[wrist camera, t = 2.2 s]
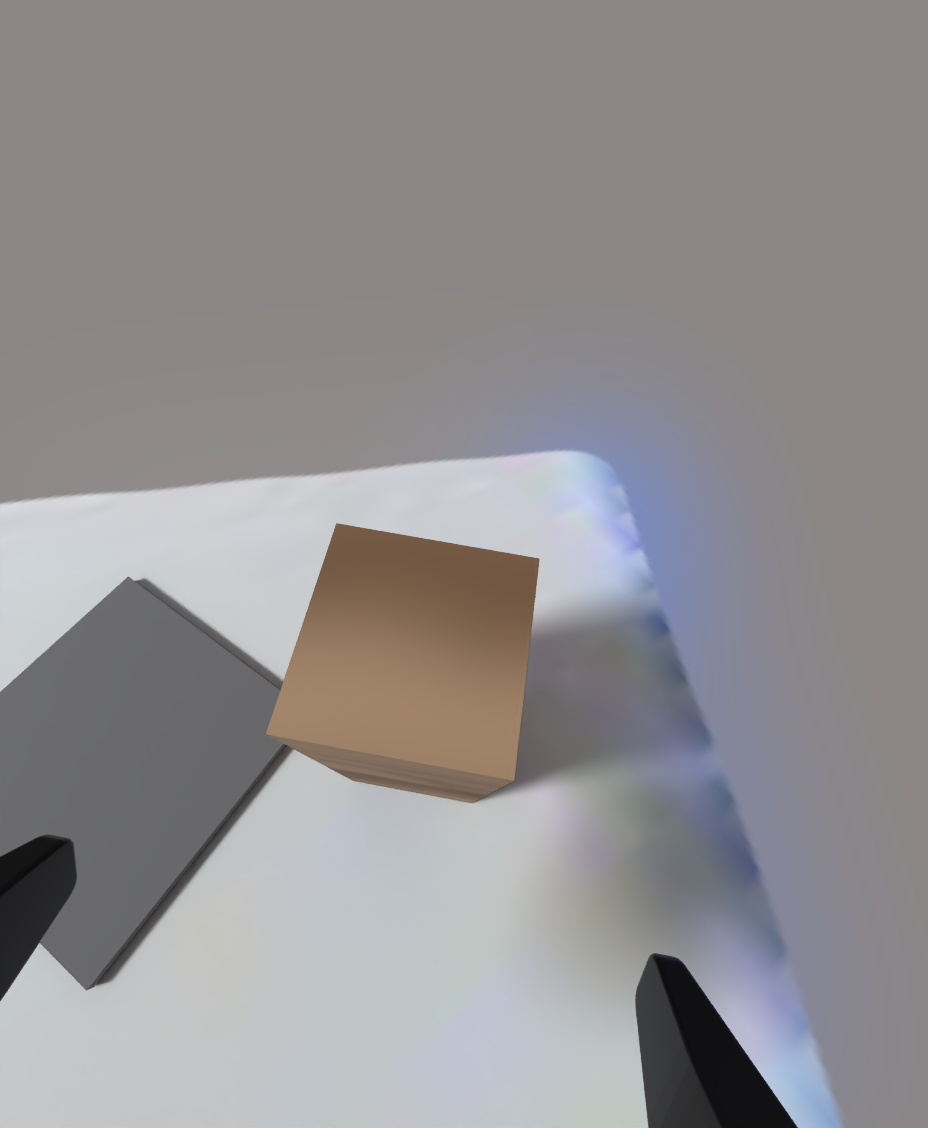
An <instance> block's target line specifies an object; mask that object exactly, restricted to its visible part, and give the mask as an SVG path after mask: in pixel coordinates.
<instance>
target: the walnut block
mask: <svg viewBox="0 0 928 1128" xmlns="http://www.w3.org/2000/svg"><path fill="white" fill-rule="evenodd" d="M538 567H539V559H538V558H533V557H527V556H521V555H515V554H510V553H504V552H498V551H492V550H487V549H481V548H475V547H469V546H464V545H458V544H452V543H446V542H441V541H435V540H429V539H423V538H418V537H412V536H406V535H400V534H395V533H389V532H383V531H377V530H372V529H366V528H360V527H354V526H349V525H343V524H337V523H336V526H335V529H334V532H333V535H332V538H331V541H330V544H329V547H328V550H327V553H326V556H325V559H324V562H323V565H322V568H321V571H320V574H319V577H318V580H317V583H316V586H315V589H314V592H313V595H312V598H311V601H310V604H309V607H308V610H307V613H306V616H305V619H304V622H303V625H302V628H301V631H300V634H299V637H298V640H297V643H296V646H295V649H294V651H293V654H292V657H291V660H290V663H289V666H288V669H287V672H286V675H285V678H284V681H283V684H282V687H281V690H280V693H279V696H278V699H277V702H276V705H275V708H274V711H273V714H272V717H271V720H270V723H269V726H268V729H267V732H266V735H268V736H270V737H272V738H274V739H276V740H278V741H280V742H281V743H283V744H285V745H287V746H289V747H291V748H293V749H295V750H296V751H298V752H300V753H302V754H304V755H306V756H308V757H310V758H311V759H313V760H315V761H317V762H319V763H321V764H323V765H325V766H326V767H328V768H330V769H332V770H334V771H336V772H338V773H340V774H341V775H343V776H345V777H347V778H349V779H351V780H353V781H358V782H363V783H368V784H373V785H379V786H384V787H389V788H395V789H400V790H405V791H411V792H416V793H421V794H426V795H432V796H437V797H442V798H448V799H453V800H458V801H463V802H469V803H474V802H475V801H477V800H479V799H481V798H483V797H485V796H487V795H488V794H490V793H492V792H494V791H496V790H498V789H500V788H501V787H503V786H505V785H507V784H509V783H511V782H513V781H514V778H515V769H516V761H517V752H518V743H519V734H520V725H521V717H522V708H523V699H524V690H525V681H526V673H527V664H528V655H529V646H530V638H531V629H532V620H533V611H534V602H535V594H536V585H537V576H538Z"/></svg>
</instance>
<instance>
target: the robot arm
mask: <svg viewBox="0 0 928 1128" xmlns="http://www.w3.org/2000/svg"><path fill="white" fill-rule="evenodd" d="M76 881H77V868H76V858H75V849H74V843H73V841H72V840H71V839H69V838H65V837H60V836H55V835H42V836H39V837H37V838H35V839H33V840H31V841H29V842H27V843H25V844H23V845H21V846H19V847H17V848H15V849H13V850H11V851H9V852H8V853H6V854H4V855H2V856H0V1001H1V1000H2V998H3V997H4V995H5V994H6V992H7V991H8V989H9V988H10V986H11V985H12V983H13V982H14V980H15V979H16V977H17V976H18V974H19V973H20V971H21V970H22V968H23V967H24V965H25V964H26V962H27V961H28V959H29V958H30V956H31V955H32V953H33V952H34V950H35V949H36V947H37V946H38V944H39V943H40V941H41V940H42V938H43V937H44V935H45V933H46V932H47V930H48V929H49V927H50V926H51V924H52V923H53V921H54V920H55V918H56V917H57V915H58V914H59V912H60V911H61V909H62V908H63V906H64V905H65V903H66V902H67V900H68V899H69V897H70V896H71V894H72V892H73V890H74V888H75V885H76ZM635 1001H636V1016H637V1025H638V1034H639V1044H640V1053H641V1062H642V1072H643V1081H644V1091H645V1100H646V1109H647V1119H648V1127H649V1128H798V1127H797V1126H796V1125H795V1123H794V1122H793V1120H792V1119H791V1117H790V1116H789V1114H788V1113H787V1112H786V1110H785V1109H784V1107H783V1106H782V1104H781V1103H780V1101H779V1100H778V1099H777V1097H776V1096H775V1094H774V1093H773V1091H772V1090H771V1089H770V1087H769V1086H768V1084H767V1083H766V1081H765V1080H764V1078H763V1077H762V1076H761V1074H760V1073H759V1071H758V1070H757V1068H756V1067H755V1065H754V1064H753V1063H752V1061H751V1060H750V1058H749V1057H748V1055H747V1054H746V1053H745V1051H744V1050H743V1048H742V1047H741V1045H740V1044H739V1042H738V1041H737V1040H736V1038H735V1037H734V1035H733V1034H732V1032H731V1031H730V1029H729V1028H728V1027H727V1025H726V1024H725V1022H724V1021H723V1019H722V1018H721V1017H720V1015H719V1014H718V1012H717V1011H716V1009H715V1008H714V1006H713V1005H712V1004H711V1002H710V1001H709V999H708V998H707V996H706V995H705V993H704V992H703V991H702V989H701V988H700V986H699V985H698V983H697V982H696V981H695V979H694V978H693V976H692V975H691V973H690V972H689V970H688V969H687V968H686V966H685V965H684V964H683V962H682V961H680V960H679V959H678V958H676V957H672V956H667V955H662V954H657V953H653V954H652V955H650V957H649V958H648V961H647V963H646V966H645V968H644V971H643V974H642V976H641V979H640V981H639V984H638V987H637V990H636V999H635Z"/></svg>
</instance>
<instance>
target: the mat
mask: <svg viewBox="0 0 928 1128" xmlns="http://www.w3.org/2000/svg"><path fill="white" fill-rule="evenodd" d="M279 693H280V690H279V689H278V688H276V687H275V686H274V685H272V684H271V683H270V682H268V681H267V680H266V679H264V678H263V677H262V676H260V675H259V674H258V673H256V672H255V671H254V670H252V669H251V668H250V667H248V666H247V665H246V664H244V663H243V662H242V661H240V660H239V659H238V658H236V657H235V656H234V655H232V654H231V653H230V652H228V651H227V650H226V649H224V648H223V647H222V646H220V645H219V644H218V643H216V642H215V641H214V640H212V639H211V638H210V637H208V636H207V635H206V634H204V633H203V632H202V631H200V630H199V629H198V628H196V627H195V626H194V625H192V624H191V623H190V622H188V621H187V620H186V619H184V618H183V617H182V616H180V615H179V614H178V613H176V612H175V611H174V610H172V609H171V608H170V607H168V606H167V605H166V604H164V603H163V602H162V601H160V600H159V599H158V598H156V597H155V596H154V595H152V594H151V593H150V592H148V591H147V590H146V589H144V588H143V587H142V586H140V585H139V584H138V583H136V582H135V581H134V580H132V579H131V578H130V577H127V578H126V579H125V580H124V581H123V582H122V583H121V584H120V585H118V586H117V587H116V588H115V589H114V590H113V591H112V592H111V593H110V594H108V595H107V596H106V597H105V598H104V599H103V600H102V601H101V602H100V603H98V604H97V605H96V606H95V607H94V608H93V609H92V610H91V611H90V612H88V613H87V614H86V615H85V616H84V617H83V618H82V619H81V620H80V621H79V622H77V623H76V624H75V625H74V626H73V627H72V628H71V629H70V630H69V631H67V632H66V633H65V634H64V635H63V636H62V637H61V638H60V639H59V640H57V641H56V642H55V643H54V644H53V645H52V646H51V647H50V648H49V649H47V650H46V651H45V652H44V653H43V654H42V655H41V656H40V657H39V658H37V659H36V660H35V661H34V662H33V663H32V664H31V665H30V666H29V667H28V668H26V669H25V670H24V671H23V672H22V673H21V674H20V675H19V676H18V677H16V678H15V679H14V680H13V681H12V682H11V683H10V684H9V685H8V686H6V687H5V688H4V689H3V690H2V691H1V692H0V856H2V855H4V854H6V853H8V852H9V851H11V850H13V849H15V848H17V847H19V846H21V845H23V844H25V843H27V842H29V841H31V840H33V839H35V838H37V837H39V836H42V835H55V836H60V837H65V838H69V839H71V840H72V841H73V843H74V849H75V858H76V868H77V881H76V885H75V888H74V890H73V892H72V894H71V896H70V897H69V899H68V900H67V902H66V903H65V905H64V906H63V908H62V909H61V911H60V912H59V914H58V915H57V917H56V918H55V920H54V921H53V923H52V924H51V926H50V927H49V929H48V930H47V932H46V933H45V935H44V937H43V938H42V940H41V941H40V943H41V944H42V945H43V946H44V948H45V949H46V950H47V951H48V952H49V953H50V954H51V955H52V956H53V957H54V958H55V959H56V960H57V961H58V962H59V963H60V964H61V965H62V966H63V967H64V968H65V969H66V970H67V971H68V972H69V973H70V974H71V975H72V976H73V977H74V978H75V979H76V980H77V981H78V982H79V983H80V984H81V985H82V986H83V987H84V988H85V989H86V990H88V989H91V988H93V987H94V986H95V985H96V984H97V983H98V981H99V980H100V979H101V978H102V976H103V975H104V974H105V973H106V971H107V970H108V969H109V968H110V966H111V965H112V964H113V963H114V961H115V960H116V959H117V957H118V956H119V955H120V954H121V952H122V951H123V950H124V949H125V947H126V946H127V945H128V944H129V942H130V941H131V940H132V939H133V937H134V936H135V935H136V934H137V932H138V931H139V930H140V929H141V927H142V926H143V925H144V924H145V922H146V921H147V920H148V918H149V917H150V916H151V915H152V913H153V912H154V911H155V910H156V908H157V907H158V906H159V905H160V903H161V902H162V901H163V900H164V898H165V897H166V896H167V895H168V893H169V892H170V891H171V890H172V888H173V887H174V886H175V885H176V883H177V882H178V881H179V880H180V878H181V877H182V876H183V874H184V873H185V872H186V871H187V869H188V868H189V867H190V866H191V864H192V863H193V862H194V861H195V859H196V858H197V857H198V856H199V854H200V853H201V852H202V851H203V849H204V848H205V847H206V846H207V844H208V843H209V842H210V841H211V839H212V838H213V837H214V835H215V834H216V833H217V832H218V830H219V829H220V828H221V827H222V825H223V824H224V823H225V822H226V820H227V819H228V818H229V817H230V815H231V814H232V813H233V812H234V810H235V809H236V808H237V807H238V805H239V804H240V803H241V802H242V800H243V799H244V798H245V796H246V795H247V794H248V793H249V791H250V790H251V789H252V788H253V786H254V785H255V784H256V783H257V781H258V780H259V779H260V778H261V776H262V775H263V774H264V773H265V771H266V770H267V769H268V768H269V766H270V765H271V764H272V763H273V761H274V760H275V759H276V757H277V756H278V755H279V754H280V752H281V751H282V750H283V749H284V747H285V746H286V745H285V744H283V743H281V742H280V741H278V740H276V739H274V738H272V737H270V736H268V735H266V732H267V729H268V726H269V723H270V720H271V717H272V714H273V711H274V708H275V705H276V702H277V699H278V696H279Z"/></svg>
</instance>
